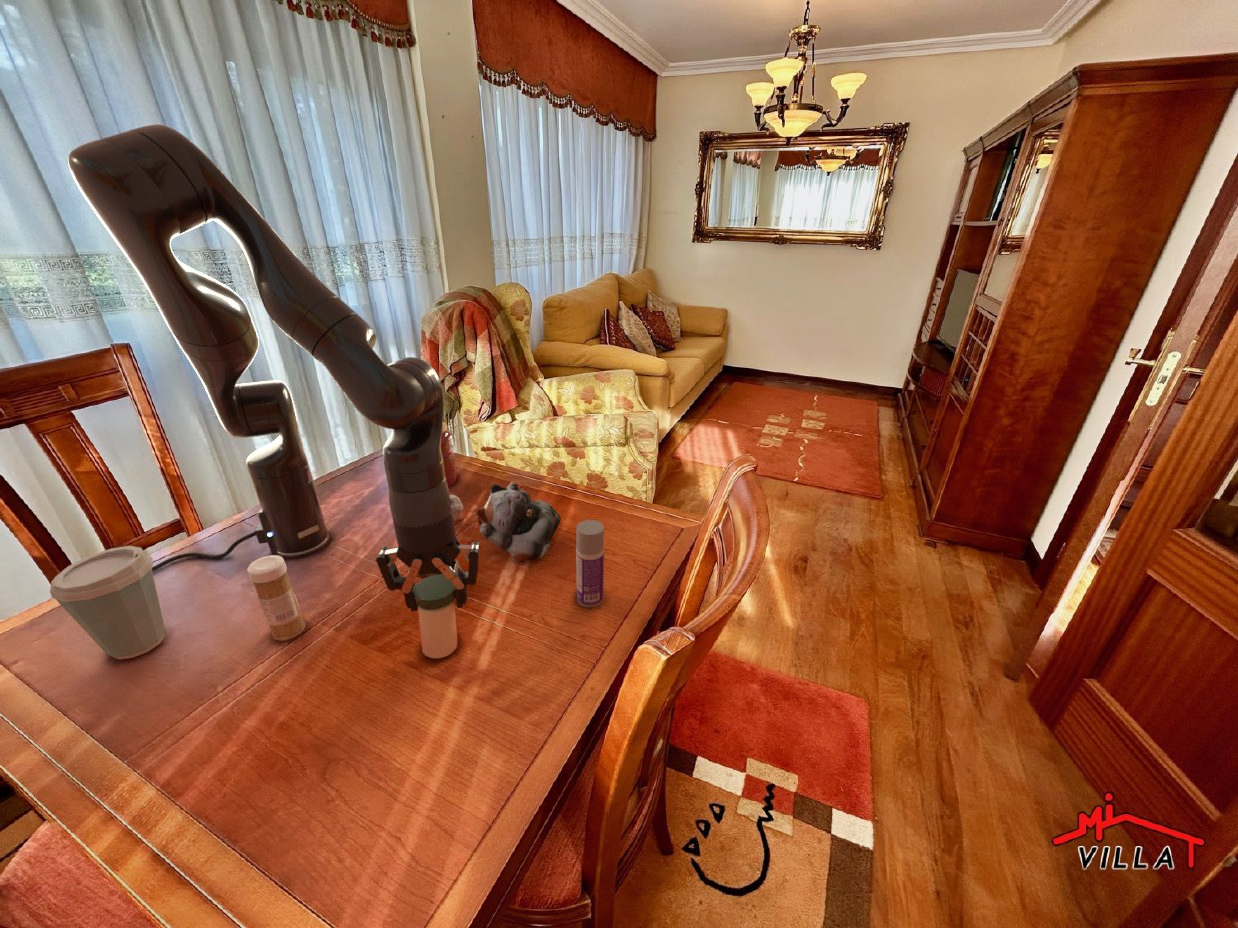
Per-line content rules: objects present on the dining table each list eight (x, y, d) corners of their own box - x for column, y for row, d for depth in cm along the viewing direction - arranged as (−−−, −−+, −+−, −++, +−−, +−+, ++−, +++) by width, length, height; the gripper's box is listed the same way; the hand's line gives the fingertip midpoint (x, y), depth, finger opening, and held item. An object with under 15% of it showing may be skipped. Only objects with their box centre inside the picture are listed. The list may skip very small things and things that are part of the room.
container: (607, 594, 89) (609, 523, 83) (595, 610, 85) (596, 538, 79) (584, 586, 91) (584, 516, 84) (571, 602, 87) (570, 530, 81)
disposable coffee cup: (79, 681, 70) (25, 598, 63) (106, 629, 78) (61, 552, 72) (175, 655, 74) (134, 575, 68) (190, 609, 83) (156, 534, 76)
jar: (420, 661, 74) (414, 606, 70) (423, 635, 79) (417, 582, 75) (457, 655, 76) (453, 601, 72) (457, 631, 80) (454, 579, 76)
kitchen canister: (391, 490, 120) (377, 422, 112) (419, 466, 131) (409, 403, 123) (442, 496, 118) (432, 427, 110) (466, 471, 129) (458, 407, 121)
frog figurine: (434, 531, 105) (429, 503, 102) (436, 514, 111) (432, 486, 108) (464, 528, 106) (460, 500, 103) (465, 511, 112) (461, 484, 109)
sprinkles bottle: (306, 617, 82) (284, 550, 76) (304, 636, 78) (281, 568, 72) (274, 626, 80) (248, 558, 74) (270, 646, 76) (243, 576, 70)
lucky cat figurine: (537, 570, 94) (495, 518, 88) (494, 570, 101) (452, 522, 95) (571, 514, 104) (536, 464, 98) (531, 518, 111) (495, 471, 105)
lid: (460, 582, 77) (459, 573, 76) (454, 608, 71) (452, 599, 71) (420, 584, 76) (418, 575, 75) (410, 611, 71) (409, 602, 70)
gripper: (356, 528, 63) (380, 628, 70) (473, 521, 65) (485, 620, 72) (373, 498, 70) (394, 592, 77) (479, 493, 72) (490, 586, 79)
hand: (438, 605), depth 75 cm, fingers closed on lid, 6 cm apart
